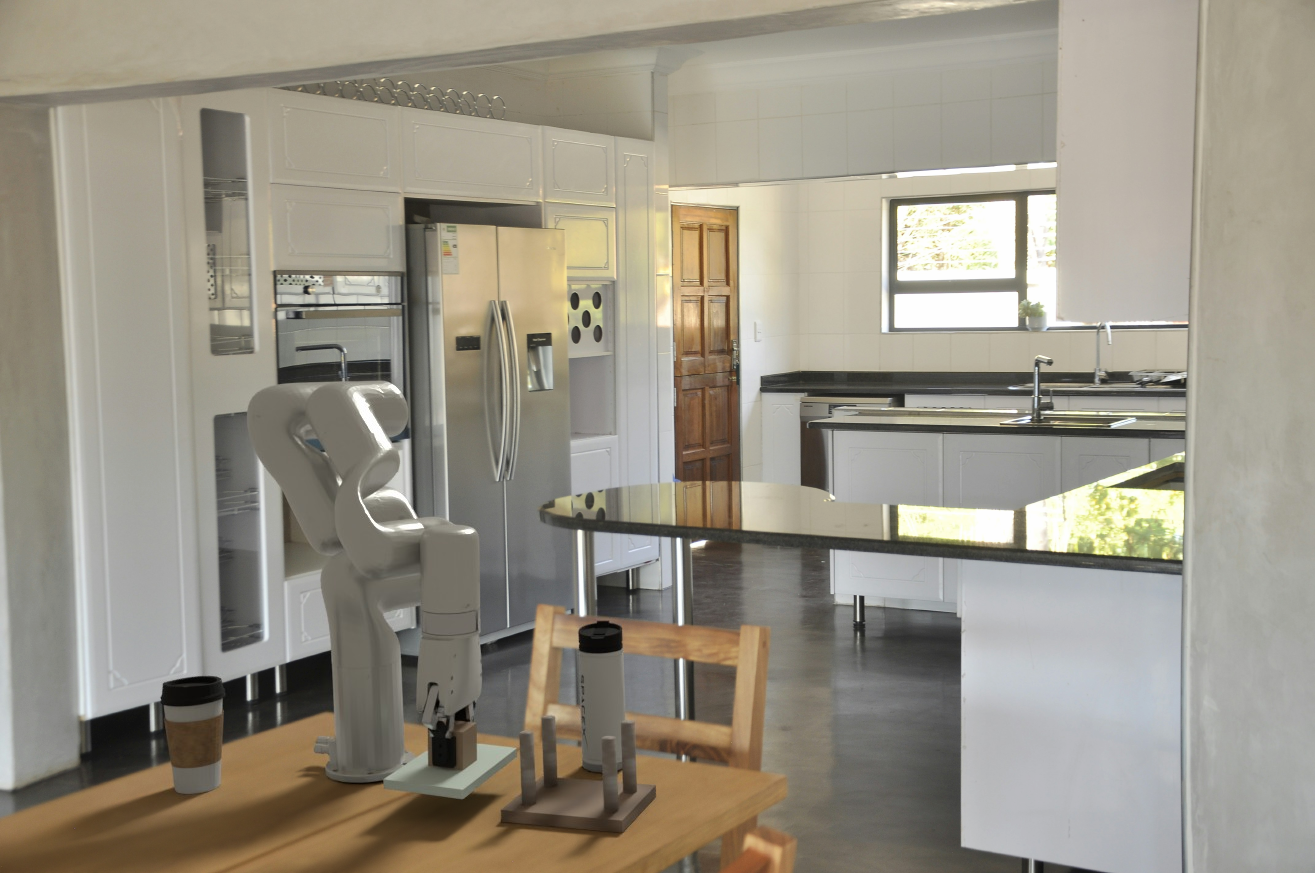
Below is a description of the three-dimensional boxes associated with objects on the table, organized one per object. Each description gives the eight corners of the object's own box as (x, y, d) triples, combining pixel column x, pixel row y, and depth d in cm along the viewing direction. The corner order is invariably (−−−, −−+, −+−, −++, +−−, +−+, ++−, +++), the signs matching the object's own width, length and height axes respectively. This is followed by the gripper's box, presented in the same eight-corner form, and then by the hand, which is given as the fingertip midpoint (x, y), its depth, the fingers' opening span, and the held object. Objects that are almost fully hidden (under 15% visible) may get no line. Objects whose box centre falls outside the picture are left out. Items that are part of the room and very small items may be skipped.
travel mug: (629, 757, 178) (625, 619, 177) (624, 773, 172) (619, 629, 171) (586, 757, 179) (581, 620, 178) (579, 772, 173) (574, 629, 171)
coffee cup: (151, 793, 169) (145, 684, 169) (195, 774, 177) (190, 670, 176) (199, 799, 166) (194, 689, 165) (243, 779, 174) (237, 673, 173)
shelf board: (462, 798, 153) (462, 749, 152) (383, 788, 156) (382, 740, 156) (517, 756, 168) (516, 711, 168) (443, 747, 171) (443, 703, 171)
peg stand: (501, 821, 155) (497, 738, 154) (542, 787, 167) (539, 709, 167) (622, 832, 150) (619, 746, 149) (656, 796, 162) (653, 716, 162)
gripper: (454, 605, 170) (456, 737, 171) (391, 634, 154) (394, 778, 155) (505, 609, 167) (506, 742, 169) (446, 639, 151) (448, 785, 153)
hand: (452, 758), depth 162 cm, fingers closed on shelf board, 4 cm apart
